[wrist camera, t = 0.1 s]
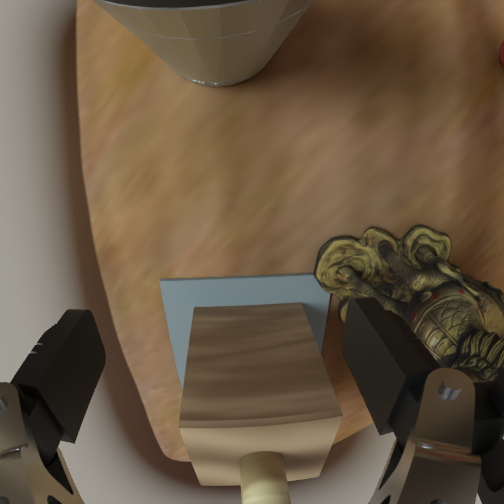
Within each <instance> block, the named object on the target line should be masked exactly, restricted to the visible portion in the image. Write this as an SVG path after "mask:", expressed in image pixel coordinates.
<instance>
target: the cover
mask: <svg viewBox="0 0 504 504" xmlns="http://www.w3.org/2000/svg"><path fill="white" fill-rule="evenodd" d="M342 417H343V415H342V412H341V409H340V406H339V403H338V400H337V398H336V395H335V392H334V389H333V387H332V384H331V381H330V378H329V375H328V373H327V370H326V367H325V365H324V362H323V359H322V356H321V354H320V351H319V348H318V346H317V343H316V340H315V338H314V335H313V332H312V330H311V327H310V324H309V322H308V319H307V316H306V314H305V311H304V309H303V306H302V303H301V302H295V303H279V304H261V305H240V306H213V307H194V310H193V317H192V324H191V331H190V338H189V345H188V353H187V361H186V369H185V377H184V385H183V394H182V403H181V412H180V422H179V430H180V432H181V435H182V438H183V441H184V444H185V446H186V449H187V452H188V454H189V457H190V459H191V462H192V465H193V467H194V470H195V472H196V475H197V477H198V479H199V482H200V484H201V485H205V486H217V485H218V486H221V485H223V486H224V485H241V493H242V504H291V502H290V495H289V489H288V483H287V481H292V480H300V479H306V478H313V477H318V476H319V474H320V472H321V469H322V467H323V465H324V463H325V460H326V458H327V455H328V453H329V450H330V448H331V446H332V443H333V441H334V438H335V436H336V433H337V430H338V428H339V425H340V422H341V420H342Z"/></svg>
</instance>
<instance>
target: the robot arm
mask: <svg viewBox="0 0 504 504" xmlns="http://www.w3.org/2000/svg"><path fill="white" fill-rule="evenodd" d="M93 1H94V2H95V3H97V4H98V5H99V6H100V7H102V8H103V9H104V10H105V11H107V12H108V13H109V14H110V15H112V16H113V17H114V18H115V19H117V20H118V21H119V22H120V23H121V24H122V25H124V26H125V27H126V28H127V29H128V30H129V31H131V32H132V33H133V34H134V35H135V36H136V37H137V38H139V39H140V40H141V41H142V42H143V43H144V44H145V45H146V46H148V47H149V48H150V49H151V50H152V51H153V52H154V53H155V54H156V55H157V56H158V57H160V58H161V59H162V60H163V61H164V62H165V63H166V64H167V65H168V66H169V67H170V68H171V69H172V70H173V71H174V72H176V73H177V74H179V75H180V76H181V77H183V78H184V79H186V80H188V81H190V82H193V83H195V84H199V85H203V86H212V87H221V86H229V85H234V84H237V83H240V82H243V81H245V80H247V79H249V78H251V77H253V76H254V75H256V74H257V73H258V72H259V71H261V70H262V69H263V68H264V67H265V66H266V64H267V63H268V62H269V61H270V59H271V58H272V57H273V55H274V54H275V53H276V51H277V50H278V49H279V47H280V46H281V44H282V43H283V42H284V40H285V39H286V37H287V36H288V35H289V33H290V32H291V31H292V29H293V28H294V27H295V25H296V24H297V23H298V21H299V20H300V19H301V17H302V16H303V15H304V13H305V12H306V11H307V10H308V8H309V7H310V6H311V5H312V3H313V2H314V1H315V0H93ZM342 351H343V355H344V358H345V360H346V362H347V365H348V367H349V369H350V371H351V373H352V375H353V377H354V379H355V382H356V384H357V386H358V388H359V390H360V392H361V395H362V397H363V399H364V401H365V403H366V406H367V408H368V410H369V412H370V414H371V417H372V419H373V421H374V423H375V426H376V428H377V430H378V432H379V435H383V434H387V433H390V432H394V434H395V436H396V440H395V442H394V444H393V447H392V449H391V452H390V455H389V458H388V460H387V463H386V465H385V468H384V470H383V473H382V475H381V478H380V480H379V483H378V485H377V487H376V490H375V492H374V494H373V496H372V498H371V500H370V501H369V503H368V504H475V501H476V496H477V493H478V495H479V497H480V500H481V502H482V504H504V439H503V437H504V367H502V368H501V369H500V370H499V372H498V374H497V376H496V377H495V379H494V381H490V382H475V383H473V382H472V381H471V379H470V378H469V377H468V376H467V375H466V374H464V373H463V372H461V371H459V370H457V369H453V368H442V367H441V366H440V365H439V363H438V362H437V361H436V359H435V358H434V357H433V355H432V354H431V353H430V352H429V350H428V349H427V348H426V347H425V345H424V344H423V343H422V341H421V340H420V339H418V338H417V335H416V334H415V333H414V331H413V330H411V328H410V327H409V325H408V324H407V323H406V322H405V320H404V319H403V318H402V317H400V316H399V315H397V314H395V313H394V312H392V311H391V310H385V309H384V308H383V306H382V305H381V304H380V303H379V301H378V300H377V299H376V298H375V297H374V296H370V297H361V298H352V299H350V300H349V302H348V306H347V312H346V319H345V325H344V331H343V337H342ZM105 357H106V356H105V350H104V346H103V344H102V341H101V338H100V334H99V331H98V329H97V325H96V323H95V319H94V316H93V314H92V312H91V311H90V310H79V309H69V310H67V311H66V312H65V313H64V314H63V316H62V317H61V319H60V320H59V321H58V323H57V324H55V325H54V326H52V327H51V328H50V329H48V330H47V331H46V332H45V333H44V334H43V335H42V336H41V338H40V339H39V341H38V342H37V345H35V346H34V348H33V349H32V351H31V353H30V354H29V355H28V356H27V358H26V359H25V361H24V362H23V364H22V365H21V367H20V368H19V370H18V371H17V373H16V374H15V376H14V378H13V379H12V381H11V382H10V383H7V382H0V504H85V503H84V502H83V500H82V498H81V496H80V494H79V492H78V490H77V488H76V486H75V484H74V481H73V479H72V477H71V475H70V472H69V470H68V468H67V465H66V463H65V460H64V457H63V455H62V452H61V450H60V449H59V448H58V445H59V443H60V440H61V441H66V442H70V443H75V441H76V438H77V435H78V432H79V429H80V427H81V424H82V421H83V419H84V416H85V413H86V411H87V408H88V405H89V403H90V400H91V398H92V395H93V393H94V390H95V388H96V385H97V383H98V381H99V378H100V376H101V373H102V371H103V368H104V366H105V359H106V358H105Z"/></svg>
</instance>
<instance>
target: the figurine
mask: <svg viewBox="0 0 504 504" xmlns="http://www.w3.org/2000/svg"><path fill="white" fill-rule="evenodd" d="M450 247H451V243H450V239H449V237H448V235H447V234H445V233H441V232H436V231H434V230H433V229H431V228H430V227H427V226H425V225H416V226H414V227H413V228H411V229H410V230H409V231H408V232H407V234H406V235H405V236H404V237H403V238H402V239H400V240H397V241H396V240H395V239H394V238H393V237H392V236H391V235H390V234H389V233H387V232H386V231H384V230H382V229H379V228H376V227H370V228H368V229H367V230H366V231H365V232H364V234H363V236H362V237H361V238H360V239H359V240H356V239H354V238H352V237H349V236H339V237H334V238H331V239H330V240H328V241H327V242H326V243H325V244H324V245H323V246H322V247H321V248H320V250H319V253H318V256H317V260H316V264H315V268H314V277H315V279H316V280H317V282H318V283H319V285H320V286H321V288H322V289H323V290H325V291H326V292H328V293H331V294H333V295H335V296H337V297H338V298H339V299H340V302H339V318H340V320H341V322H342V323H344V324H345V319H346V312H347V306H348V302H349V300H350V299H352V298H361V297H370V296H374V297H375V298H376V299H377V300H378V301H379V303H380V304H381V305H382V306H383V308H384V309H385V310H391V311H392V312H394V313H395V314H397V315H399V316H400V317H402V318H403V319H404V320H405V322H406V323H407V324H408V325H409V327H410V328H411V330H413V331H414V333H415V334H416V335H417V338H418V339H420V340H421V341H422V343H423V344H424V345H425V347H426V348H427V349H428V350H429V352H430V353H431V354H432V355H433V357H434V358H435V359H436V361H437V362H438V363H439V365H440V366H441V367H442V368H453V369H457V370H459V371H461V372H463V373H464V374H466V375H467V376H468V377H469V378H470V379H471V381H472V382H473V383H475V382H490V381H494V379H495V377H496V376H497V374H498V372H499V370H500V369H501V368H502V367H504V293H503V292H502V291H501V290H500V289H498V288H495V287H494V286H493V285H492V284H491V283H489V282H481V281H478V280H475V279H473V278H471V277H469V276H466V275H464V274H462V273H460V269H459V268H458V267H457V266H453V265H451V264H449V263H448V260H447V259H448V256H449V253H450Z"/></svg>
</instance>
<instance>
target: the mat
mask: <svg viewBox="0 0 504 504" xmlns="http://www.w3.org/2000/svg"><path fill="white" fill-rule="evenodd" d="M160 286H161V292H162V298H163V303H164V309H165V314H166V319H167V324H168V329H169V334H170V339H171V344H172V349H173V353H174V358H175V362H176V366H177V371H178V375H179V379H180V383H181V387H182V391H183V385H184V377H185V369H186V361H187V353H188V345H189V338H190V331H191V324H192V317H193V310H194V307H213V306H240V305H261V304H279V303H295V302H301V303H302V306H303V309H304V311H305V314H306V316H307V319H308V322H309V324H310V327H311V330H312V332H313V335H314V338H315V340H316V343H317V346H318V348H319V351H320V354H321V351H322V345H323V339H324V333H325V327H326V321H327V314H328V307H329V300H330V293H328V292H326V291H325V290H323V289H322V288H321V286H320V285H319V283H318V282H317V280H316V279H315V277H314V273H304V274H284V275H262V276H238V277H211V278H180V279H160Z"/></svg>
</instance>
